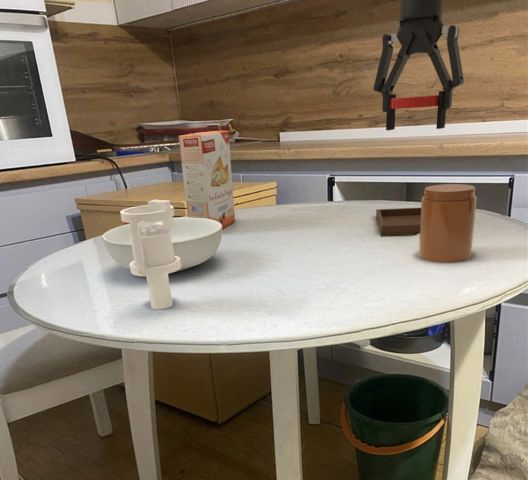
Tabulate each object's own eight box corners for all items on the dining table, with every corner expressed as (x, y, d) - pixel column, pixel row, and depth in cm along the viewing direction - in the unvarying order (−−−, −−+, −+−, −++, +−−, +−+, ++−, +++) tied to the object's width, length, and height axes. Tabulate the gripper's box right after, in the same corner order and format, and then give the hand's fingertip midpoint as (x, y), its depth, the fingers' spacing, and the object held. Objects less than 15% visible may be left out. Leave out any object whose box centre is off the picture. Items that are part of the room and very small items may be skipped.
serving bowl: (128, 293, 84) (120, 250, 81) (97, 265, 101) (90, 229, 98) (245, 267, 93) (242, 228, 90) (198, 246, 110) (194, 212, 107)
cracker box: (212, 235, 118) (202, 133, 109) (188, 234, 120) (176, 135, 111) (237, 221, 130) (229, 129, 121) (215, 221, 132) (205, 130, 123)
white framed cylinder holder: (169, 316, 73) (152, 205, 67) (127, 312, 76) (107, 205, 70) (195, 299, 79) (181, 195, 73) (155, 296, 82) (139, 195, 75)
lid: (394, 107, 109) (394, 97, 109) (443, 104, 106) (444, 94, 105) (387, 109, 101) (387, 98, 101) (440, 106, 98) (440, 95, 97)
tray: (451, 233, 105) (452, 223, 104) (380, 236, 107) (381, 225, 106) (437, 216, 120) (438, 206, 119) (376, 218, 122) (376, 209, 122)
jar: (476, 254, 91) (483, 184, 86) (462, 267, 85) (469, 192, 80) (428, 249, 95) (432, 183, 90) (411, 262, 89) (414, 191, 84)
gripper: (356, 2, 99) (355, 132, 109) (480, -19, 87) (466, 128, 97) (372, 6, 105) (370, 129, 114) (491, -14, 93) (477, 125, 102)
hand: (414, 129), depth 105 cm, fingers closed on lid, 9 cm apart
